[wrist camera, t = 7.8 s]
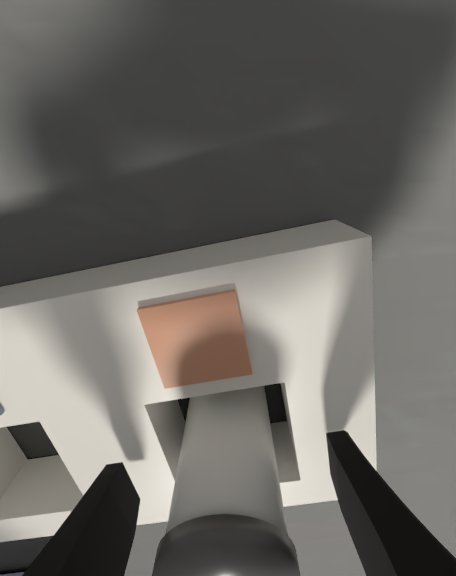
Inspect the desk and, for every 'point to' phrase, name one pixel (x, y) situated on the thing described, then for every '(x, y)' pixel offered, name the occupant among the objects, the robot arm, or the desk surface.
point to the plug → (227, 494)
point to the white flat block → (184, 365)
